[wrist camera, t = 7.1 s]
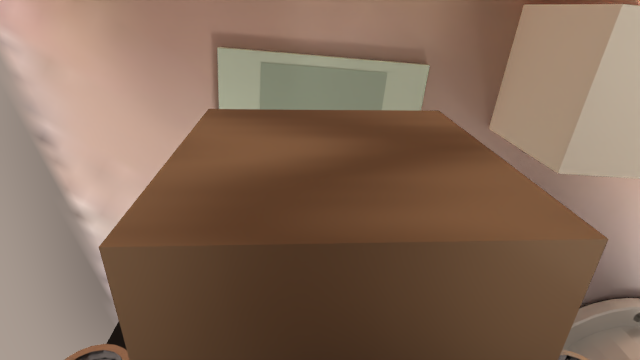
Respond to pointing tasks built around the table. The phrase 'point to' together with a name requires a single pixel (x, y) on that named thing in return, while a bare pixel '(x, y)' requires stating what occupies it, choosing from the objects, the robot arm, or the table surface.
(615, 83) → the cream brick
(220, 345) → the walnut brick
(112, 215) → the table surface
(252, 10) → the table surface
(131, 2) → the table surface
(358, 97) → the mat
